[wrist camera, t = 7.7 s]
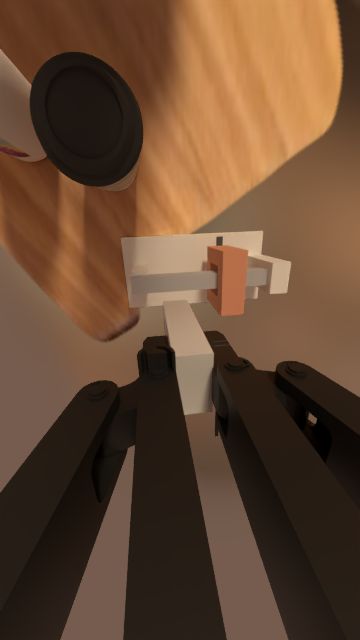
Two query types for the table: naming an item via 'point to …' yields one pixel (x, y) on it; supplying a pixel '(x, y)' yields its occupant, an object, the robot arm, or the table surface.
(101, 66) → the coffee cup
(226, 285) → the notched orange block
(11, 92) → the milk bottle
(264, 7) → the table surface
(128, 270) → the rail
